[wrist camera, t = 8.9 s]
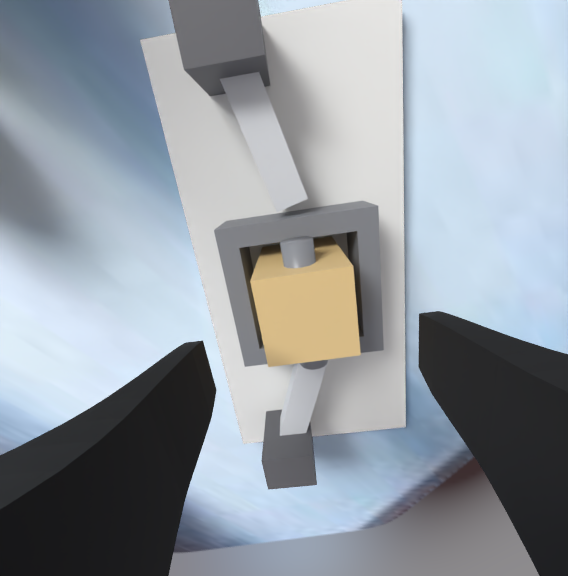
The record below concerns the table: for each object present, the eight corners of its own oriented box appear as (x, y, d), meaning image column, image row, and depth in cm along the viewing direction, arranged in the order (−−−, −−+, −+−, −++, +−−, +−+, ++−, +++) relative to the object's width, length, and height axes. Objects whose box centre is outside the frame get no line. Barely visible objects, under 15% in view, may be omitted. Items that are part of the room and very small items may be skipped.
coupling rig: (401, 416, 23) (430, 478, 18) (245, 433, 24) (234, 497, 19) (394, 1, 14) (446, -84, 10) (149, 48, 15) (86, -10, 10)
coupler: (340, 315, 19) (362, 374, 13) (276, 323, 19) (272, 386, 13) (329, 218, 17) (351, 240, 11) (258, 229, 17) (245, 256, 11)
